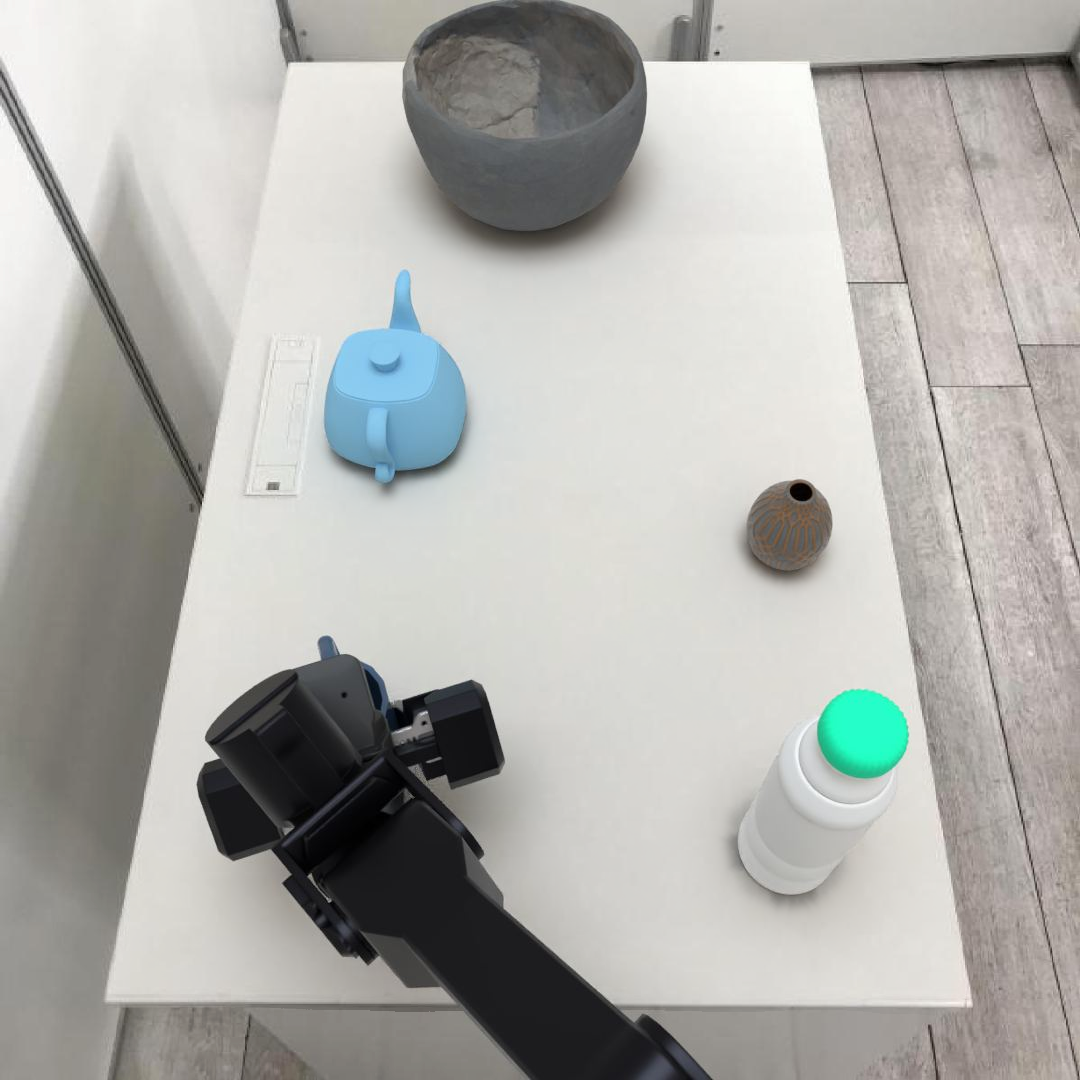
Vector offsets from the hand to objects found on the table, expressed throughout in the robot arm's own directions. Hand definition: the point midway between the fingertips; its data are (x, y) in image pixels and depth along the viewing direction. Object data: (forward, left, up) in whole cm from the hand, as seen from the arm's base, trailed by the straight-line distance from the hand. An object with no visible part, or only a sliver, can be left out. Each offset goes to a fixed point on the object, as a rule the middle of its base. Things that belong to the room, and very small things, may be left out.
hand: (349, 721), depth 76 cm
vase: (+15, -36, -8) cm, 40 cm away
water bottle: (-11, -31, -8) cm, 33 cm away
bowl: (+63, -19, -8) cm, 66 cm away
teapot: (+33, -4, -8) cm, 34 cm away
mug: (0, 0, -7) cm, 7 cm away
